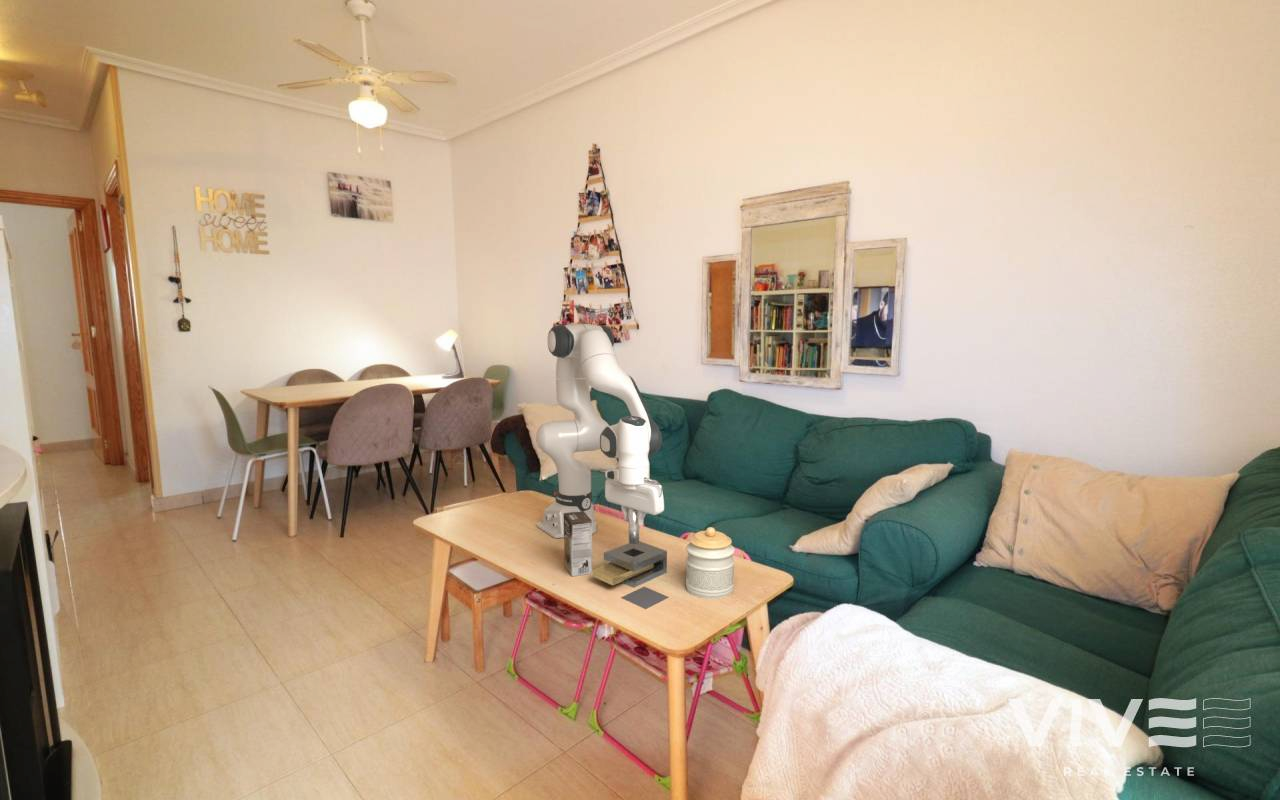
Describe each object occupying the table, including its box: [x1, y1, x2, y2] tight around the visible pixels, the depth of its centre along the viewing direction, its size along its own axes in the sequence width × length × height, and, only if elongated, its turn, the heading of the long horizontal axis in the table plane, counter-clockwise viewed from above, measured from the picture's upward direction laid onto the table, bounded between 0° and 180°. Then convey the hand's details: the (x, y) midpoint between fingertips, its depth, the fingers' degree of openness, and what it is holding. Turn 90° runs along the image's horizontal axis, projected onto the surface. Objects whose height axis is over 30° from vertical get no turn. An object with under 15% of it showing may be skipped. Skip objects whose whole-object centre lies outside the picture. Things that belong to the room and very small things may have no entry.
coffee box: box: [563, 511, 593, 577], centre depth 171 cm, size 9×6×16 cm
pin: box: [628, 508, 640, 544], centre depth 166 cm, size 3×3×10 cm
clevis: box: [592, 540, 668, 589], centre depth 166 cm, size 12×20×7 cm, turn 136°
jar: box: [685, 526, 736, 600], centre depth 158 cm, size 13×13×18 cm
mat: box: [620, 586, 670, 610], centre depth 154 cm, size 9×9×1 cm
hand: (633, 522), depth 166 cm, fingers closed on pin, 3 cm apart
